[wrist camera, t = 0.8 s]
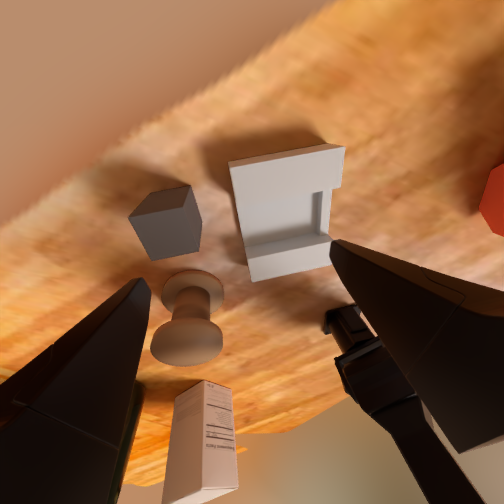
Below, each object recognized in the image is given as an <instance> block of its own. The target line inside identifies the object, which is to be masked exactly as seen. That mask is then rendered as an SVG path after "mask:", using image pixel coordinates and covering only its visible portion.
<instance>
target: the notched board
mask: <svg viewBox="0 0 504 504" xmlns="http://www.w3.org/2000/svg"><path fill="white" fill-rule="evenodd" d="M344 154H345V146H340V145H335V144H329V143H327V144H321V145H316V146H310V147H305V148H300V149H294V150H289V151H283V152H278V153H273V154H267V155H262V156H256V157H251V158H246V159H240V160H235V161H229V162H228V167H229V172H230V177H231V182H232V187H233V192H234V197H235V202H236V207H237V212H238V217H239V223H240V228H241V233H242V238H243V243H244V248H245V253H246V258H247V263H248V268H249V272H250V276H251V280H252V282H256V281H261V280H266V279H270V278H275V277H279V276H284V275H288V274H293V273H297V272H302V271H306V270H311V269H315V268H320V267H324V266H329V265H332V262H331V260H330V258H329V251H330V244H331V242H332V241H333V239H332V238H331V237H330V236H329V235H328V228H329V217H330V207H331V196H332V189H336V188H341V180H342V171H343V163H344Z"/></svg>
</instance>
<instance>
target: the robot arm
mask: <svg viewBox="0 0 504 504" xmlns="http://www.w3.org/2000/svg"><path fill="white" fill-rule="evenodd" d="M329 258H330V260H331V262H332V264H333V266H334V268H335V270H336V272H337V274H338V276H339V277H340V279H341V281H342V283H343V285H344V286H345V288H346V289H347V291H348V292H349V294H350V295H351V297H352V298H353V300H354V301H355V302H356V304H357V305H352V306H348V307H344V308H340V309H335V310H331V311H328V312H326V315H325V323H324V334H325V335H327V334H331V333H332V335H333V337H334V339H335V340H336V342H337V344H338V346H339V348H340V349H341V351H342V353H343V354H342V355H340V356H338V357H335V358H334V360H335V365H336V367H337V369H338V372H339V374H340V377H341V380H342V384H343V387H344V390H345V392H346V393H347V394H349V395H350V396H351V397H352V398H353V399H354V401H355V402H356V403H357V404H359V405H360V407H361V408H362V409H363V411H364V412H366V413H367V414H368V415H369V416H371V418H373V419H374V420H375V421H376V422H377V423H378V424H379V425H381V426H382V427H383V428H384V429H385V430H387V431H388V432H389V433H390V434H391V436H392V438H393V439H394V441H395V443H396V445H397V446H398V448H399V450H400V452H401V454H402V456H403V457H404V459H405V461H406V463H407V464H408V467H409V468H410V470H411V472H412V473H413V476H414V477H415V479H416V481H417V483H418V485H419V487H420V488H421V490H422V492H423V494H424V496H425V497H426V499H427V501H428V503H429V504H487V503H486V502H485V501H484V499H483V498H482V497H481V495H480V494H479V492H478V491H477V489H476V488H475V487H474V485H473V484H472V482H471V481H470V480H469V478H468V477H467V476H466V474H465V473H464V471H463V470H462V469H461V467H460V466H459V464H458V463H457V461H456V460H455V459H454V457H453V456H452V454H451V453H450V452H449V451H448V449H447V448H446V446H445V445H444V443H443V442H442V440H441V439H440V438H439V436H438V435H437V433H436V432H435V431H434V428H433V423H432V417H431V415H432V416H433V418H434V419H435V421H436V422H437V424H438V425H439V427H440V428H441V430H442V431H443V433H444V434H445V436H446V437H447V438H448V440H449V442H450V443H451V444H452V446H453V447H454V449H455V450H456V451H457V452H458V454H461V453H465V452H468V451H471V450H475V449H478V448H482V447H485V446H488V445H492V444H495V443H498V442H502V441H504V292H503V291H500V290H496V289H493V288H489V287H486V286H483V285H479V284H476V283H472V282H469V281H465V280H462V279H458V278H455V277H452V276H448V275H445V274H442V273H439V272H436V271H433V270H430V269H427V268H424V267H419V266H418V265H415V264H412V263H409V262H406V261H403V260H400V259H397V258H394V257H391V256H388V255H385V254H383V253H380V252H377V251H374V250H371V249H368V248H365V247H362V246H359V245H356V244H353V243H350V242H347V241H344V240H341V239H338V240H333V241H332V242H331V244H330V251H329ZM150 301H151V290H150V288H149V287H148V285H147V283H146V281H145V280H144V279H143V278H142V277H140V278H135V279H132V280H130V281H129V282H128V283H127V284H126V285H124V286H123V287H122V288H121V289H119V290H118V291H117V292H116V293H114V294H113V295H112V296H111V297H110V298H108V299H107V300H106V301H105V302H103V303H102V304H101V305H100V306H98V307H97V308H96V309H95V310H94V311H92V312H91V313H90V314H89V315H87V316H86V317H85V318H84V319H82V320H81V321H80V322H79V323H78V324H76V325H75V326H74V327H73V328H71V329H70V330H69V331H68V332H66V333H65V334H64V335H63V336H62V337H60V338H59V339H58V340H57V341H55V342H54V344H52V345H50V346H49V347H48V348H47V349H45V350H44V351H43V352H42V353H41V354H39V355H38V356H37V357H36V358H34V359H33V360H32V361H30V362H29V363H28V364H27V365H25V366H24V367H23V368H22V369H20V370H19V371H18V372H16V373H15V374H14V375H12V376H11V377H10V378H8V379H7V380H6V381H4V382H3V383H2V384H0V504H107V500H108V495H109V491H110V487H111V482H112V478H113V474H114V470H115V465H116V461H117V457H118V452H119V447H120V443H121V439H122V434H123V430H124V426H125V421H126V417H127V413H128V408H129V404H130V400H131V396H132V391H133V387H134V383H135V378H136V374H137V370H138V365H139V361H140V357H141V352H142V348H143V344H144V340H145V335H146V331H147V326H148V320H149V311H150ZM361 311H362V313H363V314H364V316H365V317H366V319H367V320H368V322H369V323H370V325H371V326H372V328H373V329H374V331H375V332H376V333H377V335H378V336H377V337H375V336H374V334H373V333H372V332H371V330H370V329H369V328H368V326H367V325H366V323H365V322H364V321H363V319H362V318H361V317H360V313H361Z"/></svg>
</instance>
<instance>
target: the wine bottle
mask: <svg viewBox="0 0 504 504" xmlns="http://www.w3.org/2000/svg"><path fill="white" fill-rule="evenodd" d="M145 395H146V391H145V388H144V386H142V385H141V384H140V383H138V382H136V381H135V383H134V387H133V391H132V396H131V400H130V404H129V408H128V413H127V417H126V421H125V426H124V430H123V434H122V439H121V443H120V447H119V452H118V457H117V461H116V465H115V470H114V474H113V478H112V482H111V487H110V491H109V495H108V500H107V504H117V501H118V498H119V494H120V491H121V487H122V483H123V480H124V476H125V472H126V468H127V465H128V461H129V457H130V454H131V450H132V446H133V442H134V439H135V435H136V431H137V427H138V424H139V420H140V416H141V412H142V408H143V404H144V400H145Z"/></svg>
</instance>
